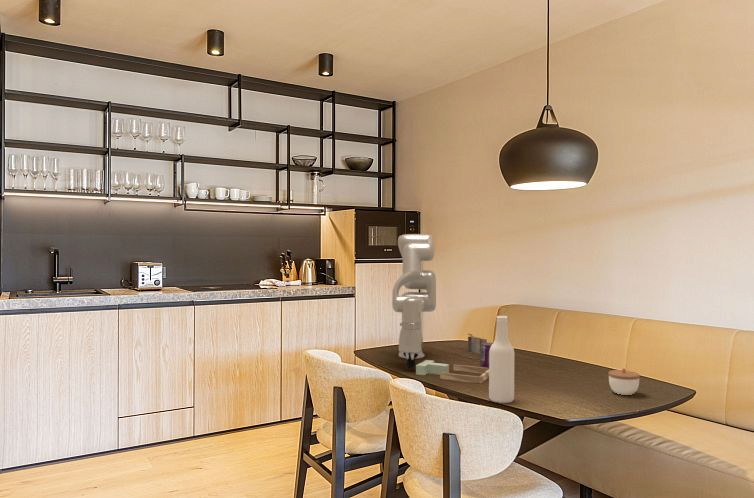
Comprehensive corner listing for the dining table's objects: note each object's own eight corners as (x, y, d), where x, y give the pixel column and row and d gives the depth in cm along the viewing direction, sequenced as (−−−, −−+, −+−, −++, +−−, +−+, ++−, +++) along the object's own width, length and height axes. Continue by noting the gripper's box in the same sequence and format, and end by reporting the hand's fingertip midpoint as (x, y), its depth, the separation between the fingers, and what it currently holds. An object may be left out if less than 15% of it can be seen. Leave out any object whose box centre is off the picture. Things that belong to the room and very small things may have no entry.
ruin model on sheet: (467, 351, 297) (467, 332, 296) (471, 351, 298) (471, 332, 298) (482, 355, 287) (482, 336, 287) (486, 354, 289) (486, 335, 288)
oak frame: (454, 370, 252) (454, 364, 252) (492, 374, 245) (492, 368, 245) (440, 379, 236) (440, 373, 236) (481, 383, 228) (481, 377, 228)
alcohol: (491, 403, 200) (492, 318, 200) (486, 396, 209) (487, 314, 209) (516, 403, 201) (517, 318, 200) (510, 396, 209) (511, 314, 209)
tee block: (442, 377, 239) (442, 368, 238) (416, 374, 244) (416, 365, 244) (451, 371, 249) (451, 362, 249) (426, 368, 255) (426, 359, 254)
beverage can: (496, 373, 246) (496, 345, 246) (479, 372, 248) (480, 344, 248) (496, 369, 253) (496, 342, 253) (480, 368, 255) (480, 342, 254)
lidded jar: (646, 396, 210) (646, 371, 210) (621, 398, 207) (621, 372, 207) (625, 389, 221) (625, 365, 220) (602, 391, 218) (602, 366, 217)
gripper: (392, 326, 251) (391, 368, 251) (424, 328, 244) (423, 371, 244) (399, 324, 258) (398, 364, 258) (430, 326, 251) (430, 368, 251)
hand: (411, 367), depth 251 cm, fingers closed
